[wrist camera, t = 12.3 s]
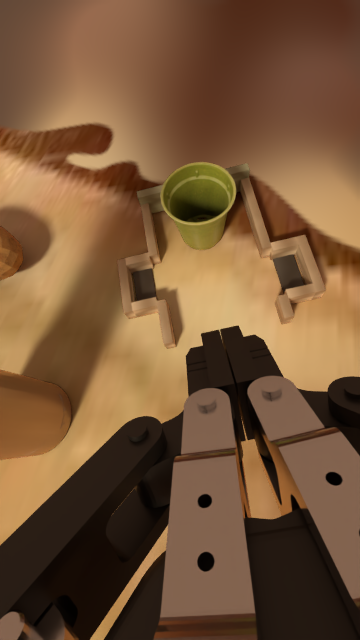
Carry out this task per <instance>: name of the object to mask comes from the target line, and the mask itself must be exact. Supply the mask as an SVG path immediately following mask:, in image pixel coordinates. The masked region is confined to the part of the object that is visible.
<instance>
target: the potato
mask: <svg viewBox="0 0 360 640" xmlns="http://www.w3.org/2000/svg"><path fill="white" fill-rule="evenodd" d="M22 262H23V253H22V247H21V245H20V244H19V242H18V241H17V240H16V239H15V238H14V237H13V236H12V235H11V234H10V233H9V232H7V231H6V230H5V229H4V228H3V227H1V226H0V280H2V279H5V278H8V277H10V276H13V275H14V274H15V273H16V271H17V270H18V269H19V267H20V265H21V263H22Z"/></svg>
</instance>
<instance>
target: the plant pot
mask: <svg viewBox="0 0 360 640" xmlns="http://www.w3.org/2000/svg"><path fill="white" fill-rule="evenodd" d="M160 197H161V204H162V206H163V209H164V210H165V212H166V213H167V214H168V216H169V217H171V218H172V219H173V220H174V221H175V223H176V225H177V227H178V229H179V231H180V233H181V236H182V238H183V240H184V242H185V243H186V244H188V245H189V246H190V247H192V248H194V249H198V250H205V249H209V248H211V247H213V246H214V245H215V244H216V243H217V242H219V241H220V240H221V238H222V235H223V231H224V226H225V221H226V216H227V213H228V211H229V210H230V209H231V207H232V205H233V203H234V201H235V197H236V185H235V182H234V180H233V178H232V176H231V175H230V174H229V172H228V171H226V170H225V169H224V168H222V167H220V166H219V165H216V164H212V163H208V162H195V163H190V164H187V165H185V166H182V167H180V168H178V169H177V170H175V171H174V172H173V173H172V174H171V175H169V177H168V178H167V179H166V180H165V182H164V184H163V186H162V189H161V195H160ZM202 217H205V218H206V219H199V220H197V219H198V218H202Z"/></svg>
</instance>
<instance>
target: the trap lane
mask: <svg viewBox="0 0 360 640" xmlns="http://www.w3.org/2000/svg"><path fill="white" fill-rule="evenodd" d="M225 170H226V171H228V172H229V174H230V175H231V176H232V178H233V180H234V182H235V185H236V192H241V195H242V199H243V202H244V205H245V208H246V212H247V215H248V218H249V221H250V225H251V228H252V231H253V234H254V237H255V241H256V244H257V247H258V250H259V254H260V257H261V258H264V257H269V256H270V259H271V260H273V262H274V265H275V268H276V271H277V274H278V277H279V280H280V283H281V286H282V289H283V292H284V295H279V296H277V299H276V302H275V305H276V308H277V312H278V315H279V318H280V321H281V324H285V323H290V322H291V321H292V319H293V317H294V313H293V310H292V307H291V304H294V303H299V302H303V301H308V300H313V299H317V298H321V296H322V295H323V293H324V292H325V291H326V288H325V286H324V283H323V281H322V278H321V275H320V273H319V270H318V267H317V265H316V262H315V259H314V257H313V254H312V251H311V249H310V246H309V244H308V241H307V238H306V236H305V235H302V236H297V237H293V238H289V239H285V240H280V241H276V242H272V243H270V240H269V237H268V234H267V231H266V228H265V225H264V222H263V219H262V216H261V213H260V210H259V206H258V203H257V200H256V197H255V194H254V191H253V188H252V185H251V182H250V179H249V170H250V169H249V166H248V164H247V163H246V164H242V165H239V166H234V167H230V168H227V169H225ZM162 186H163V185H160V186H157V187H153V188H149V189H145V190H141V191H137V196H138V200H139V202H140V205H141V211H142V217H143V223H144V229H145V235H146V241H147V247H148V253H144V254H140V255H135V256H131V257H127V258H123V259H119V260H117V263H118V271H119V279H120V287H121V296H122V304H123V312H124V314H125V315H126V316H127V317H128V318H129V319H131V318H135V317H140V316H144V315H149V314H153V313H159V319H160V325H161V331H162V337H163V343H164V345H165V346H166V348H167V349H169V348H173V347H176V344H175V338H174V333H173V327H172V321H171V316H170V310H169V306H168V304H167V301H166V299H163V300H159V301H158V300H157V298H156V292H155V286H154V280H153V274H152V268H154V267H153V265H154V264H158V263H161V260H160V255H159V249H158V244H157V238H156V233H155V227H154V221H153V216H152V213H156V212H160V211H164V209H163V206H162V204H161V197H160V195H161V189H162ZM294 254H295V255H296V258H297V261H298V264H299V267H300V269H301V272H302V275H303V278H304V281H305V283H306V285H304V283H303V280H302V277H301V275H300V272H299V269H298V266H297V263H296V260H295V258H294ZM131 273H133V276H134V283H135V290H136V297H137V301H136V302H135V296H134V289H133V281H132V274H131Z"/></svg>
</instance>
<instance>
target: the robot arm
mask: <svg viewBox="0 0 360 640" xmlns="http://www.w3.org/2000/svg"><path fill="white" fill-rule="evenodd" d="M220 331H221V335H220V332H219V330H215V331H211V332H206V333H201V336H202V342H203V346H199V347H194V348H191V349H190V350H189V352H188V354H187V355H186V365H187V380H188V394H189V397H188V398H187V400H186V401H185V404H184V410H183V412H182V413H180V414H179V415H178V416H176V417H175V418H173V419H171V420H169V421H167V422H164V423H162V424H161V423H160V421H159V420H157V419H156V418H154V417H149V416H143V417H138V418H135V419H133V420H131V421H129V422H127V423H126V424H125V425H123V426H122V427H121V428H120V429H119V430H118V431H117V432H116V433H115V434H114V435H113V436H112V437H111V438H110V439H109V440H108V441H107V442H106V443H105V444H104V445H103V446H102V447H101V448H100V449H99V450H98V451H97V452H96V453H95V454H94V455H93V456H92V457H91V458H90V459H88V460H87V461H86V462H85V463H84V464H83V465H82V466H81V467H80V468H79V469H78V470H77V471H76V472H75V473H74V474H73V475H72V476H71V477H70V478H69V479H68V480H67V481H66V482H65V483H64V484H63V485H62V486H61V487H60V488H59V489H58V490H57V491H56V492H55V493H54V494H53V495H52V496H51V497H50V498H49V499H48V500H46V501H45V502H44V503H43V504H42V505H41V506H40V507H39V508H38V509H37V510H36V511H35V512H34V513H33V514H32V515H31V516H30V517H29V518H28V519H27V520H26V521H25V522H24V523H23V524H22V525H21V526H20V527H19V528H18V529H17V530H16V531H15V532H14V533H13V534H12V535H11V536H10V537H9V538H8V539H7V540H6V541H5V542H3V543H2V544H1V545H0V640H90V638H91V637H92V635H93V634H94V632H95V631H96V630H97V628H98V627H99V625H100V624H101V622H102V621H103V619H104V618H105V616H106V615H107V613H108V612H109V610H110V609H111V608H112V606H113V605H114V603H115V602H116V600H117V599H118V597H119V596H120V594H121V593H122V591H123V590H124V588H125V587H126V585H127V584H128V583H129V581H130V580H131V578H132V577H133V575H134V574H135V572H136V571H137V569H138V568H139V566H140V565H141V563H142V562H143V561H144V559H145V558H146V556H147V555H148V553H149V552H150V550H151V549H152V547H153V546H154V544H155V543H156V541H157V540H158V538H159V537H160V536H161V534H162V533H163V531H164V530H165V528H166V527H167V525H168V534H167V546H166V551H165V552H163V553H162V554H161V555H160V556H159V557H158V558H157V559H156V560H155V561H154V563H153V564H152V565H151V566H150V568H149V569H148V570H147V571H146V573H145V574H144V576H143V577H142V579H141V581H140V582H139V584H138V585H137V587H136V589H135V590H134V592H133V593H132V595H131V597H130V598H129V600H128V602H127V603H126V605H125V606H124V608H123V610H122V611H121V613H120V614H119V616H118V618H117V619H116V621H115V622H114V624H113V626H112V627H111V629H110V631H109V632H108V634H107V635H106V637H105V639H104V640H360V377H343V378H339V379H337V380H335V381H333V382H332V383H331V384H330V385H329V387H328V392H318V391H305V390H301V389H298V388H296V386H295V385H294V384H293V383H292V382H291V381H290V380H288V379H286V378H284V377H283V375H282V373H281V371H280V370H279V368H278V366H277V364H276V362H275V360H274V358H273V357H272V355H271V353H270V351H269V349H268V347H267V345H266V344H265V342H264V340H263V339H261V338H259V337H258V336H256V335H250V336H246V337H243V335H242V332H241V330H240V328H239V326H233V327H229V328H224V329H220ZM221 336H222V339H221ZM222 341H223V342H222ZM241 418H242V419H241ZM70 421H71V404H70V401H69V398H68V396H67V395H66V393H65V392H64V391H63V390H62V389H61V388H60V387H59V386H57V385H55V384H53V383H49V382H45V381H41V380H38V379H34V378H31V377H27V376H23V375H19V374H15V373H11V372H8V371H4V370H0V460H4V459H12V458H21V457H28V456H35V455H41V454H44V453H46V452H49V451H50V450H52V449H53V448H55V447H56V446H57V445H58V444H59V443H60V442H61V441H62V439H63V438H64V436H65V435H66V433H67V431H68V428H69V426H70ZM242 421H243V424H242ZM243 425H244V428H245V432H246V436H247V439H248V440H251V439H255V441H256V445H257V449H258V454H259V459H260V462H261V465H262V468H263V470H264V473H265V475H266V478H267V480H268V483H269V485H270V488H271V490H272V493H273V495H274V498H275V500H276V503H277V505H278V508H279V510H280V513H281V517H279V518H276V519H259V518H251V513H250V506H249V500H248V493H247V486H246V479H245V473H244V466H243V461H242V458H243V450H242V445H241V441H246V439H245V434H244V429H243ZM131 491H132V492H131ZM130 492H131V493H130ZM126 497H127V498H126ZM125 498H126V499H125ZM121 503H122V504H121ZM120 504H121V505H120ZM117 508H118V509H117ZM116 509H117V510H116ZM115 510H116V511H115ZM112 514H113V515H112Z"/></svg>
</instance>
